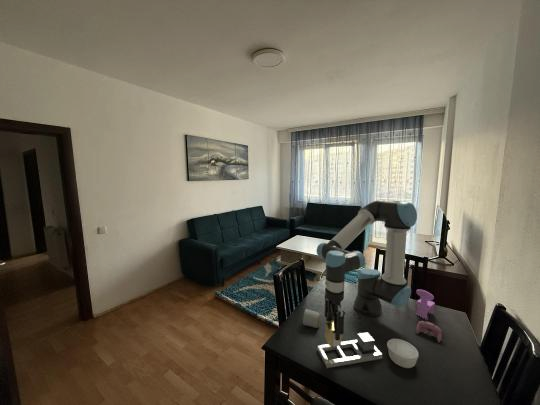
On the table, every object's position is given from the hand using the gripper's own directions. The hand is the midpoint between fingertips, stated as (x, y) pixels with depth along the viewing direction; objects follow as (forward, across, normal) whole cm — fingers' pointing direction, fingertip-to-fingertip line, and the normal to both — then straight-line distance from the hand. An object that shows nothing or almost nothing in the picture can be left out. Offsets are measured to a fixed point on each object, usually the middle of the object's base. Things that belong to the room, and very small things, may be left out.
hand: (332, 340), depth 92 cm
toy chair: (+8, -18, +64) cm, 67 cm away
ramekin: (+8, +6, +28) cm, 30 cm away
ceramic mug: (+8, -22, -1) cm, 24 cm away
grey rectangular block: (+8, 0, +16) cm, 17 cm away
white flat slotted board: (+8, 0, +8) cm, 11 cm away
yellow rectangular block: (0, 0, 0) cm, 0 cm away
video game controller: (+8, -3, +52) cm, 53 cm away
